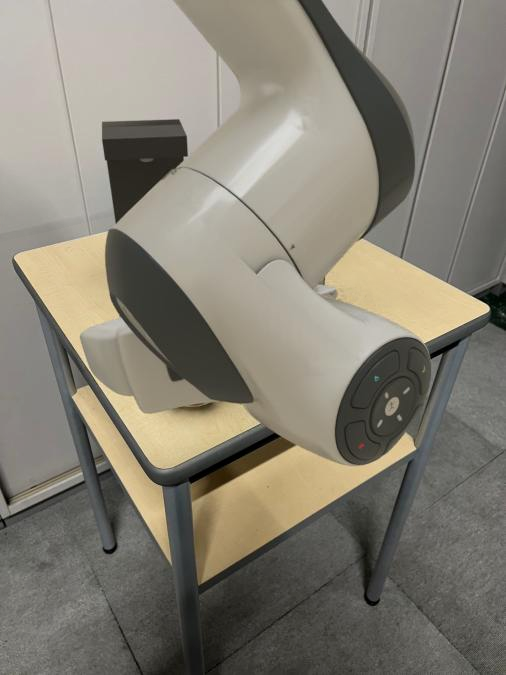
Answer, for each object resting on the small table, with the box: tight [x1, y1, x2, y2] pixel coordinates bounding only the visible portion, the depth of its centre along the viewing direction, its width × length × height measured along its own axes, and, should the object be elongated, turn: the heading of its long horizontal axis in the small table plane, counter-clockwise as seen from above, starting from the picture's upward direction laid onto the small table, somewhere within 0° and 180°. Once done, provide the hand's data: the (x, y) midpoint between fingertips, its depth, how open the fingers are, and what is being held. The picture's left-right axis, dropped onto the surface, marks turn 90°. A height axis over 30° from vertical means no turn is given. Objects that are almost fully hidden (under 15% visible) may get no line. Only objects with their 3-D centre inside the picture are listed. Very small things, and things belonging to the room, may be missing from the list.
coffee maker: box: [101, 118, 189, 225], centre depth 83 cm, size 12×14×24 cm
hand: (174, 303), depth 50 cm, fingers open, 8 cm apart
